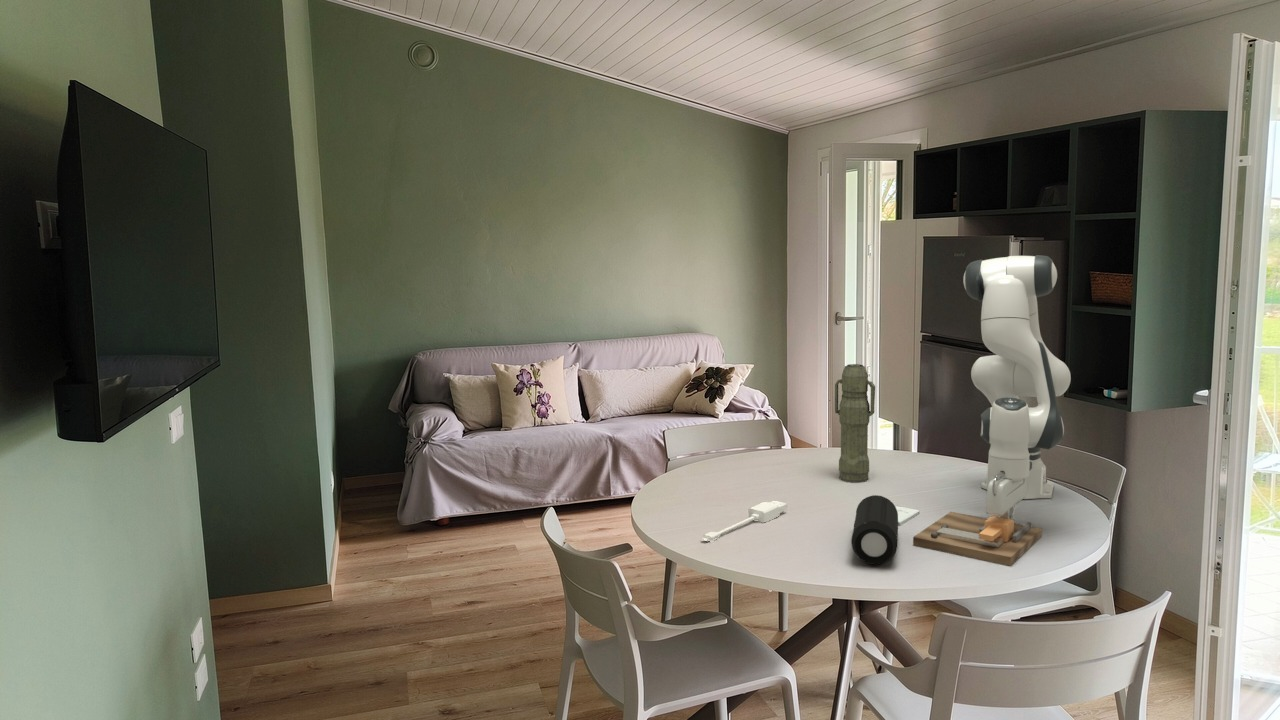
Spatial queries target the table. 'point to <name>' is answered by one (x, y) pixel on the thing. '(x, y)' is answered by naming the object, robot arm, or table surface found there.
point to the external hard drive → (905, 514)
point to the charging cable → (754, 516)
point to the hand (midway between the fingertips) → (1006, 523)
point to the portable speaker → (875, 530)
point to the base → (974, 524)
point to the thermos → (854, 422)
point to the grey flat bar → (968, 537)
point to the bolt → (997, 529)
